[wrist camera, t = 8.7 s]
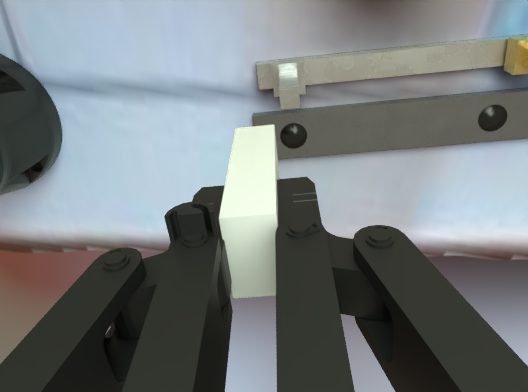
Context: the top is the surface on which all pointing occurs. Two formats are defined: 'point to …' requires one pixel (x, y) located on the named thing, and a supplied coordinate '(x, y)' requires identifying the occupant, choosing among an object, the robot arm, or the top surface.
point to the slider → (517, 55)
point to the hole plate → (399, 123)
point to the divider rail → (376, 65)
